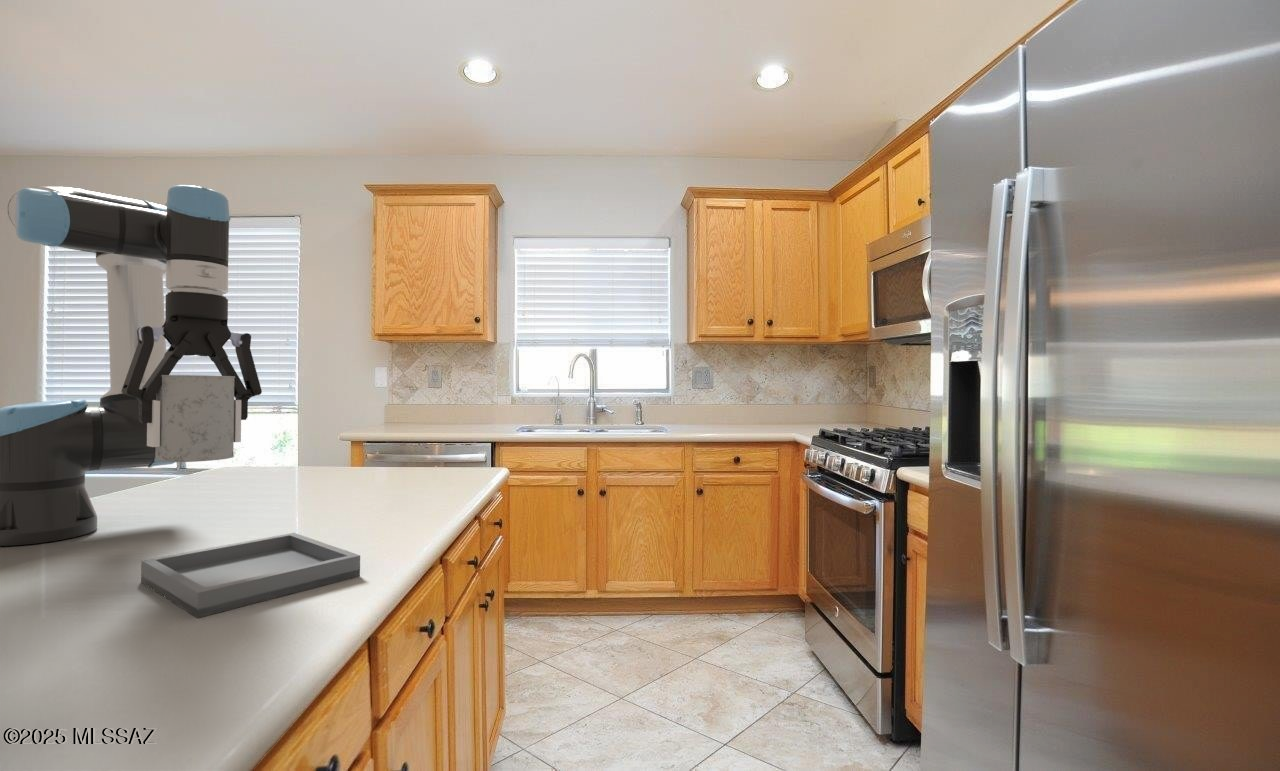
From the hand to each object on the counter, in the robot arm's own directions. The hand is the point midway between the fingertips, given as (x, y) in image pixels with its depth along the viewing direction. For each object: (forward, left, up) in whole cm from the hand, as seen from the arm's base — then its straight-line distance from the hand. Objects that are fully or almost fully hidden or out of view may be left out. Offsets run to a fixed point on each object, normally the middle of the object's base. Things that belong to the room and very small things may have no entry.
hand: (195, 443), depth 90 cm
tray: (+13, +3, -18) cm, 22 cm away
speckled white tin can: (0, 0, -2) cm, 2 cm away
